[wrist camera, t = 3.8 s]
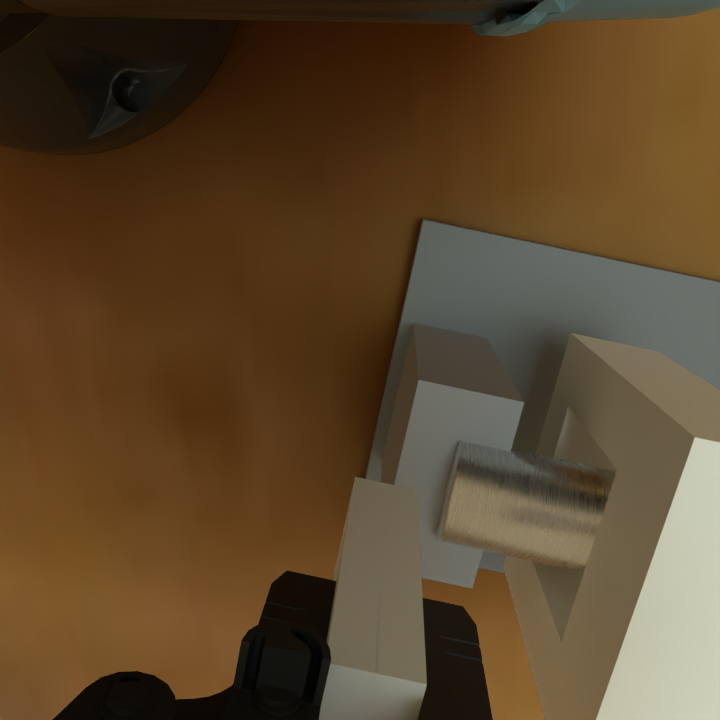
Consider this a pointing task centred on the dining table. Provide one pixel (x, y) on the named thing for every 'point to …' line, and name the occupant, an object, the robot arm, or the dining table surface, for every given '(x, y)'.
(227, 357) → the dining table surface
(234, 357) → the dining table surface
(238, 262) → the dining table surface
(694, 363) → the pipe stand
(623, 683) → the collar
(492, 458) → the pipe
